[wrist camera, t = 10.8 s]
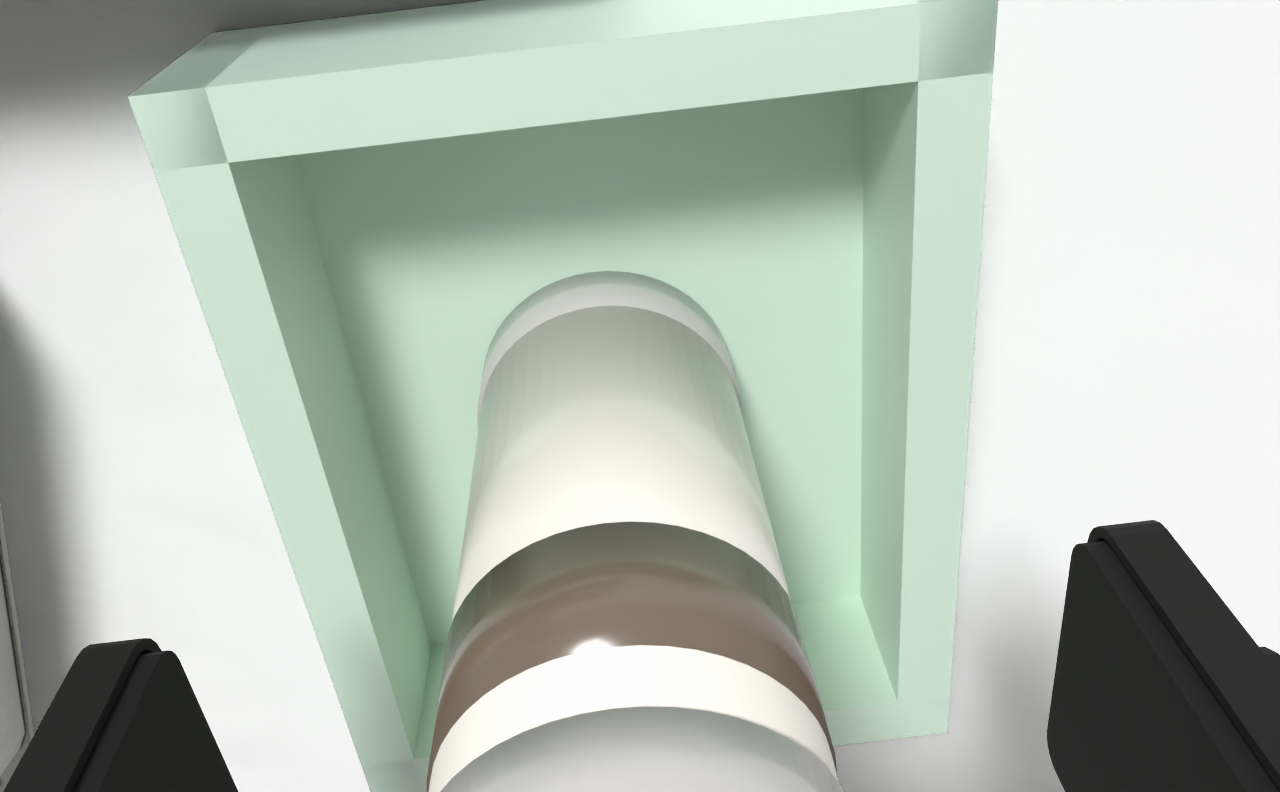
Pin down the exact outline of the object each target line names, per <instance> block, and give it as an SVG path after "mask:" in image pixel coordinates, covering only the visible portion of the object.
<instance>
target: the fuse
mask: <svg viewBox="0 0 1280 792" xmlns="http://www.w3.org/2000/svg"><path fill="white" fill-rule="evenodd" d="M477 422H478V436H477V443H476V451H475V458H474V465H473V473H472V480H471V487H470V494H469V502H468V509H467V516H466V523H465V531H464V538H463V545H462V553H461V560H460V567H459V574H458V582H457V589H456V596H455V603H454V611H453V618H452V624H451V627H450V630H449V632H448V637H447V642H446V648H445V654H444V661H443V668H442V675H441V682H440V689H439V697H438V704H437V711H436V718H435V725H434V732H433V739H432V746H431V753H430V760H429V767H428V775H427V792H844V791H843V789H842V787H841V785H840V784H839V780H838V777H837V769H836V760H835V752H834V748H833V745H832V741H831V737H830V733H829V730H828V726H827V722H826V718H825V715H824V711H823V707H822V704H821V700H820V696H819V692H818V689H817V685H816V681H815V677H814V674H813V670H812V666H811V662H810V659H809V655H808V651H807V648H806V644H805V640H804V636H803V633H802V629H801V625H800V622H799V619H798V616H797V612H796V609H795V608H794V606H793V604H792V602H791V599H790V595H789V591H788V588H787V584H786V580H785V576H784V572H783V569H782V565H781V561H780V557H779V554H778V550H777V546H776V542H775V538H774V535H773V531H772V527H771V523H770V520H769V516H768V512H767V508H766V504H765V501H764V497H763V493H762V489H761V485H760V482H759V478H758V474H757V470H756V467H755V463H754V459H753V455H752V451H751V448H750V444H749V440H748V436H747V433H746V429H745V425H744V421H743V417H742V414H741V399H740V392H739V388H738V385H737V381H736V377H735V373H734V370H733V366H732V362H731V359H730V355H729V352H728V349H727V345H726V342H725V340H724V338H723V336H722V334H721V332H720V330H719V328H718V327H717V325H716V324H715V322H714V321H713V319H712V318H711V317H710V316H709V314H708V313H707V312H706V311H705V310H704V309H703V308H702V307H701V306H700V305H699V304H698V303H697V302H695V301H694V300H693V299H692V298H691V297H690V296H688V295H687V294H685V293H683V292H682V291H680V290H679V289H677V288H676V287H674V286H671V285H669V284H667V283H665V282H663V281H661V280H658V279H655V278H651V277H648V276H645V275H640V274H635V273H630V272H619V271H600V272H589V273H584V274H578V275H574V276H571V277H567V278H564V279H561V280H558V281H556V282H554V283H551V284H549V285H547V286H545V287H543V288H541V289H540V290H538V291H536V292H535V293H533V294H531V295H530V296H529V297H527V298H526V299H525V300H524V301H522V302H521V303H520V304H519V305H517V306H516V307H515V308H514V309H513V311H512V312H511V313H510V314H509V315H508V316H507V317H506V318H505V320H504V321H503V322H502V324H501V325H500V327H499V328H498V329H497V331H496V333H495V335H494V337H493V339H492V341H491V343H490V345H489V348H488V351H487V354H486V357H485V363H484V368H483V374H482V381H481V388H480V395H479V402H478V420H477Z"/></svg>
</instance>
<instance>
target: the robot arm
mask: <svg viewBox="0 0 1280 792" xmlns="http://www.w3.org/2000/svg"><path fill="white" fill-rule="evenodd" d="M1047 741H1048V748H1049V753H1050V757H1051V760H1052V764H1053V766H1054V769H1055V771H1056V773H1057V775H1058V777H1059V779H1060V782H1061V784H1062V786H1063V788H1064V790H1065V792H1280V655H1279V654H1278V653H1276V652H1274V651H1272V650H1270V649H1268V648H1266V647H1258V645H1257V644H1256V643H1255V642H1254V640H1253V639H1252V638H1251V636H1250V635H1249V634H1248V633H1247V631H1246V630H1245V629H1244V628H1243V626H1242V625H1241V624H1240V622H1239V621H1238V620H1237V619H1236V617H1235V616H1234V615H1233V613H1232V612H1231V611H1230V610H1229V608H1228V607H1227V606H1226V604H1225V603H1224V602H1223V601H1222V599H1221V598H1220V597H1219V595H1218V594H1217V593H1216V592H1215V590H1214V589H1213V588H1212V586H1211V585H1210V584H1209V583H1208V581H1207V580H1206V579H1205V578H1204V576H1203V575H1202V574H1201V572H1200V571H1199V570H1198V569H1197V567H1196V566H1195V565H1194V563H1193V562H1192V561H1191V560H1190V558H1189V557H1188V556H1187V554H1186V553H1185V552H1184V551H1183V549H1182V548H1181V547H1180V545H1179V544H1178V543H1177V542H1176V540H1175V539H1174V538H1173V536H1172V535H1171V534H1170V533H1169V531H1168V530H1167V529H1166V528H1165V527H1164V526H1163V525H1162V524H1161V523H1160V522H1157V521H1154V520H1150V521H1142V522H1133V523H1125V524H1116V525H1107V526H1099V527H1096V528H1094V529H1093V530H1092V531H1091V533H1090V535H1089V539H1088V542H1087V543H1083V544H1077V545H1076V546H1075V547H1074V548H1073V551H1072V555H1071V562H1070V570H1069V577H1068V584H1067V591H1066V598H1065V606H1064V613H1063V620H1062V627H1061V635H1060V642H1059V649H1058V656H1057V663H1056V671H1055V678H1054V685H1053V692H1052V700H1051V707H1050V714H1049V721H1048V728H1047ZM3 792H238V790H237V788H236V786H235V784H234V781H233V779H232V777H231V775H230V772H229V770H228V768H227V766H226V763H225V761H224V759H223V757H222V755H221V752H220V750H219V748H218V746H217V743H216V741H215V739H214V737H213V734H212V732H211V730H210V728H209V725H208V723H207V721H206V719H205V717H204V714H203V712H202V710H201V708H200V705H199V703H198V701H197V699H196V696H195V694H194V692H193V690H192V687H191V685H190V683H189V681H188V678H187V676H186V674H185V672H184V670H183V667H182V665H181V663H180V661H179V659H178V657H177V656H176V654H175V653H173V652H172V651H161V649H160V648H159V646H158V645H157V643H156V642H154V641H153V640H152V639H146V638H143V639H135V640H126V641H118V642H109V643H101V644H92V645H89V646H87V647H85V648H84V649H82V651H81V652H80V653H79V655H78V656H77V658H76V659H75V661H74V663H73V665H72V667H71V669H70V670H69V672H68V674H67V676H66V678H65V679H64V681H63V683H62V685H61V687H60V689H59V690H58V692H57V694H56V696H55V698H54V700H53V701H52V703H51V705H50V707H49V709H48V711H47V712H46V714H45V716H44V718H43V720H42V721H41V723H40V725H39V727H38V729H37V731H36V732H35V734H34V736H33V738H32V740H31V742H30V743H29V745H28V747H27V749H26V751H25V753H24V754H23V756H22V758H21V760H20V762H19V763H18V765H17V767H16V769H15V771H14V773H13V774H12V776H11V778H10V780H9V782H8V784H7V785H6V787H5V789H4V791H3Z"/></svg>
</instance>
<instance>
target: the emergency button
mask: <svg viewBox="0 0 1280 792" xmlns="http://www.w3.org/2000/svg"><path fill="white" fill-rule="evenodd" d="M33 736H34V730H33V723H32V716H31V709H30V702H29V695H28V688H27V681H26V674H25V667H24V660H23V653H22V646H21V639H20V632H19V625H18V618H17V612H16V605H15V598H14V591H13V584H12V577H11V570H10V563H9V556H8V549H7V542H6V535H5V528H4V521H3V514H2V507H1V500H0V792H3V791H4V789H5V787H6V785H7V784H8V782H9V780H10V778H11V776H12V774H13V773H14V771H15V769H16V767H17V765H18V763H19V762H20V760H21V758H22V756H23V754H24V753H25V751H26V749H27V747H28V745H29V743H30V742H31V740H32V738H33Z"/></svg>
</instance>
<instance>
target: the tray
mask: <svg viewBox="0 0 1280 792" xmlns="http://www.w3.org/2000/svg"><path fill="white" fill-rule="evenodd" d="M997 8H998V0H485V1H476V2H468V3H459V4H451V5H443V6H434V7H426V8H417V9H409V10H400V11H392V12H383V13H375V14H366V15H358V16H350V17H341V18H333V19H324V20H316V21H307V22H299V23H290V24H282V25H273V26H265V27H257V28H248V29H240V30H231V31H223V32H214V33H210V34H209V35H208V36H206V37H205V38H204V39H203V40H201V41H200V42H199V43H197V44H196V45H195V46H193V47H192V48H191V49H189V50H188V51H187V52H186V53H184V54H183V55H182V56H180V57H179V58H178V59H176V60H175V61H174V62H172V63H171V64H170V65H168V66H167V67H166V68H165V69H163V70H162V71H161V72H159V73H158V74H157V75H155V76H154V77H153V78H151V79H150V80H149V81H148V82H146V83H145V84H144V85H142V86H141V87H140V88H138V89H137V90H136V91H134V92H133V93H132V94H131V95H129V96H128V100H129V102H130V105H131V108H132V111H133V114H134V117H135V120H136V122H137V125H138V128H139V131H140V134H141V137H142V140H143V142H144V145H145V148H146V151H147V154H148V157H149V160H150V162H151V165H152V168H153V171H154V174H155V177H156V180H157V182H158V185H159V188H160V191H161V194H162V197H163V200H164V202H165V205H166V208H167V211H168V214H169V217H170V220H171V222H172V225H173V228H174V231H175V234H176V237H177V240H178V242H179V245H180V248H181V251H182V254H183V257H184V260H185V263H186V265H187V268H188V271H189V274H190V277H191V280H192V283H193V285H194V288H195V291H196V294H197V297H198V300H199V303H200V305H201V308H202V311H203V314H204V317H205V320H206V323H207V325H208V328H209V331H210V334H211V337H212V340H213V343H214V345H215V348H216V351H217V354H218V357H219V360H220V363H221V365H222V368H223V371H224V374H225V377H226V380H227V383H228V385H229V388H230V391H231V394H232V397H233V400H234V403H235V405H236V408H237V411H238V414H239V417H240V420H241V423H242V425H243V428H244V431H245V434H246V437H247V440H248V443H249V445H250V448H251V451H252V454H253V457H254V460H255V463H256V465H257V468H258V471H259V474H260V477H261V480H262V483H263V485H264V488H265V491H266V494H267V497H268V500H269V503H270V505H271V508H272V511H273V514H274V517H275V520H276V523H277V525H278V528H279V531H280V534H281V537H282V540H283V543H284V545H285V548H286V551H287V554H288V557H289V560H290V563H291V565H292V568H293V571H294V574H295V577H296V580H297V583H298V585H299V588H300V591H301V594H302V597H303V600H304V603H305V605H306V608H307V611H308V614H309V617H310V620H311V623H312V625H313V628H314V631H315V634H316V637H317V640H318V643H319V645H320V648H321V651H322V654H323V657H324V660H325V663H326V665H327V668H328V671H329V674H330V677H331V680H332V683H333V685H334V688H335V691H336V694H337V697H338V700H339V703H340V705H341V708H342V711H343V714H344V717H345V720H346V723H347V725H348V728H349V731H350V734H351V737H352V740H353V743H354V745H355V748H356V751H357V754H358V757H359V760H360V763H361V765H362V768H363V771H364V774H365V777H366V780H367V783H368V785H369V788H370V791H371V792H427V775H428V767H429V760H430V753H431V746H432V739H433V732H434V725H435V718H436V711H437V704H438V697H439V689H440V682H441V675H442V668H443V661H444V654H445V648H446V642H447V637H448V632H449V630H450V627H451V624H452V618H453V611H454V603H455V596H456V589H457V582H458V574H459V567H460V560H461V553H462V545H463V538H464V531H465V523H466V516H467V509H468V502H469V494H470V487H471V480H472V473H473V465H474V458H475V451H476V443H477V436H478V422H477V420H478V402H479V395H480V388H481V381H482V374H483V368H484V363H485V357H486V354H487V351H488V348H489V345H490V343H491V341H492V339H493V337H494V335H495V333H496V331H497V329H498V328H499V327H500V325H501V324H502V322H503V321H504V320H505V318H506V317H507V316H508V315H509V314H510V313H511V312H512V311H513V309H514V308H515V307H516V306H517V305H519V304H520V303H521V302H522V301H524V300H525V299H526V298H527V297H529V296H530V295H531V294H533V293H535V292H536V291H538V290H540V289H541V288H543V287H545V286H547V285H549V284H551V283H554V282H556V281H558V280H561V279H564V278H567V277H571V276H574V275H578V274H584V273H589V272H600V271H619V272H630V273H635V274H640V275H645V276H648V277H651V278H655V279H658V280H661V281H663V282H665V283H667V284H669V285H671V286H674V287H676V288H677V289H679V290H680V291H682V292H683V293H685V294H687V295H688V296H690V297H691V298H692V299H693V300H694V301H695V302H697V303H698V304H699V305H700V306H701V307H702V308H703V309H704V310H705V311H706V312H707V313H708V314H709V316H710V317H711V318H712V319H713V321H714V322H715V324H716V325H717V327H718V328H719V330H720V332H721V334H722V336H723V338H724V340H725V342H726V345H727V349H728V352H729V355H730V359H731V362H732V366H733V370H734V373H735V377H736V381H737V385H738V388H739V392H740V399H741V414H742V417H743V421H744V425H745V429H746V433H747V436H748V440H749V444H750V448H751V451H752V455H753V459H754V463H755V467H756V470H757V474H758V478H759V482H760V485H761V489H762V493H763V497H764V501H765V504H766V508H767V512H768V516H769V520H770V523H771V527H772V531H773V535H774V538H775V542H776V546H777V550H778V554H779V557H780V561H781V565H782V569H783V572H784V576H785V580H786V584H787V588H788V591H789V595H790V599H791V602H792V604H793V606H794V608H795V609H796V612H797V616H798V619H799V622H800V625H801V629H802V633H803V636H804V640H805V644H806V648H807V651H808V655H809V659H810V662H811V666H812V670H813V674H814V677H815V681H816V685H817V689H818V692H819V696H820V700H821V704H822V707H823V711H824V715H825V718H826V722H827V726H828V730H829V733H830V737H831V741H832V745H833V746H840V745H848V744H857V743H865V742H874V741H882V740H891V739H900V738H908V737H917V736H925V735H934V734H942V733H948V720H949V705H950V691H951V676H952V661H953V647H954V632H955V618H956V603H957V589H958V574H959V560H960V545H961V531H962V516H963V502H964V487H965V473H966V458H967V444H968V429H969V415H970V400H971V386H972V371H973V357H974V342H975V328H976V313H977V299H978V284H979V270H980V255H981V241H982V226H983V212H984V197H985V182H986V168H987V153H988V139H989V124H990V110H991V95H992V81H993V66H994V52H995V37H996V23H997Z"/></svg>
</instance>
